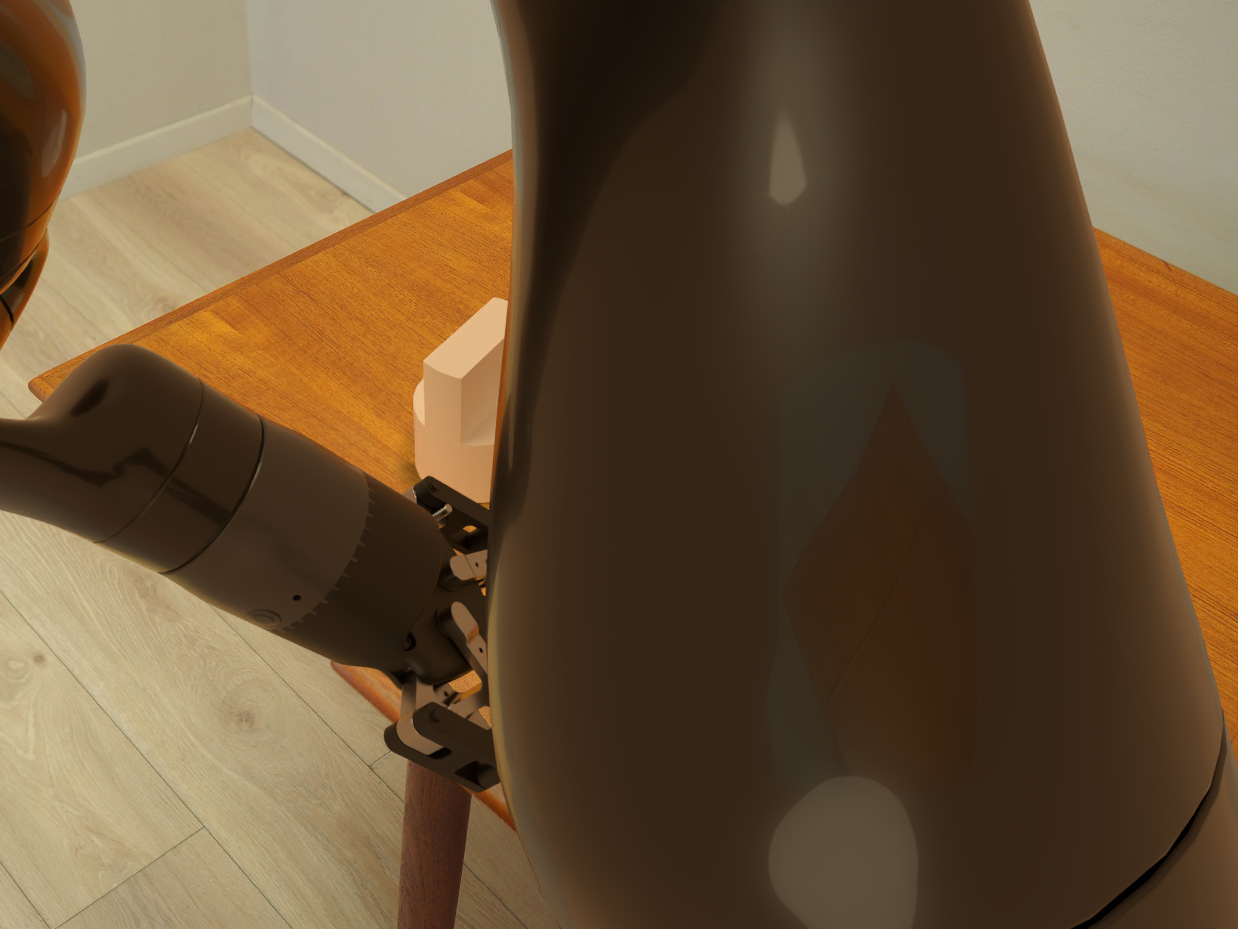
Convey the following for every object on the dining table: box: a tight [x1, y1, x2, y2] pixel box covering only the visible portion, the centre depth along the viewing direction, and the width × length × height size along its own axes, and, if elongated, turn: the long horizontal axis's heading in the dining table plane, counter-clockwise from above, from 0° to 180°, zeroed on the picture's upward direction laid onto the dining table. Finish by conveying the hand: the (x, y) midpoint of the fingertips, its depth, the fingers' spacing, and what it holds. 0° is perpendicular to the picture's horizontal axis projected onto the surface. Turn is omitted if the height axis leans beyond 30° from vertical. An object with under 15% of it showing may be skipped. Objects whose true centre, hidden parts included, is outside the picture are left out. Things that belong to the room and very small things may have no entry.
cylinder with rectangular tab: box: [412, 297, 508, 504], centre depth 75 cm, size 9×9×12 cm
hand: (558, 679), depth 53 cm, fingers open, 8 cm apart
